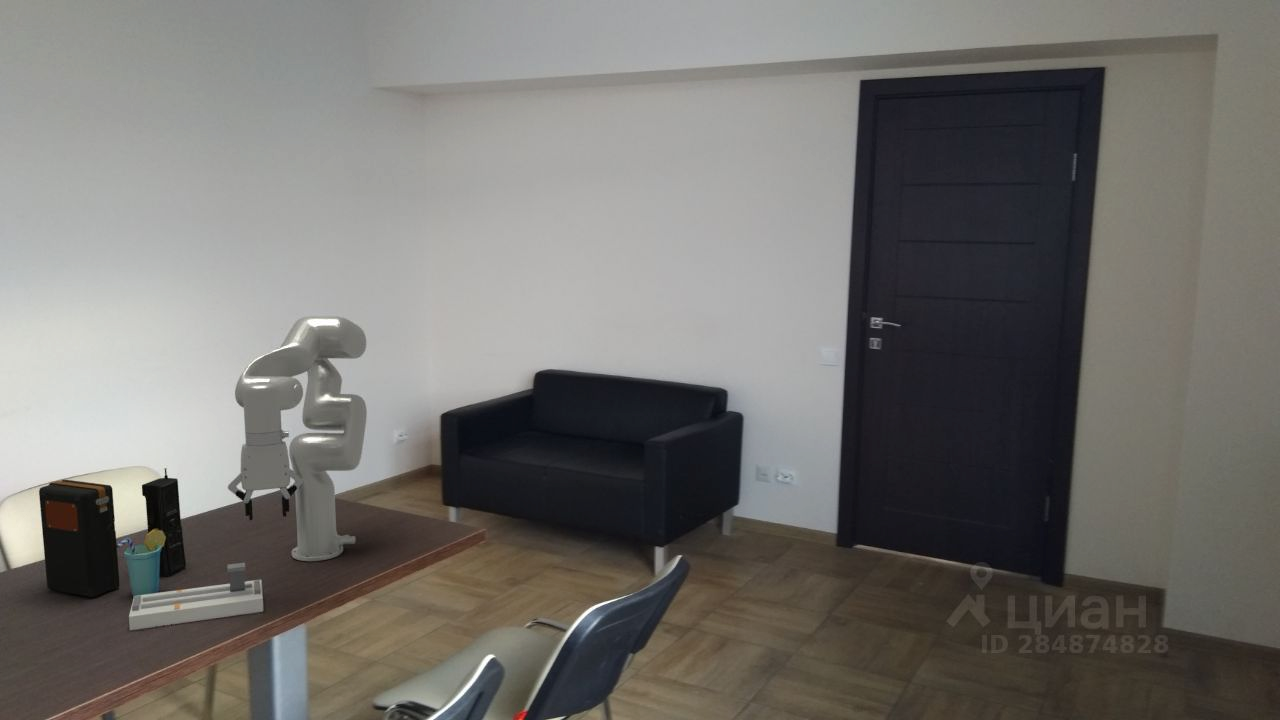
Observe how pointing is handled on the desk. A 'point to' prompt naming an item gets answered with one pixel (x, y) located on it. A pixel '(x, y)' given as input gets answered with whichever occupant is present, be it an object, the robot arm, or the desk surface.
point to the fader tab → (236, 576)
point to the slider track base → (194, 605)
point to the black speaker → (79, 537)
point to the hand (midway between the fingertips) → (267, 516)
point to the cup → (144, 563)
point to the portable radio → (166, 521)
